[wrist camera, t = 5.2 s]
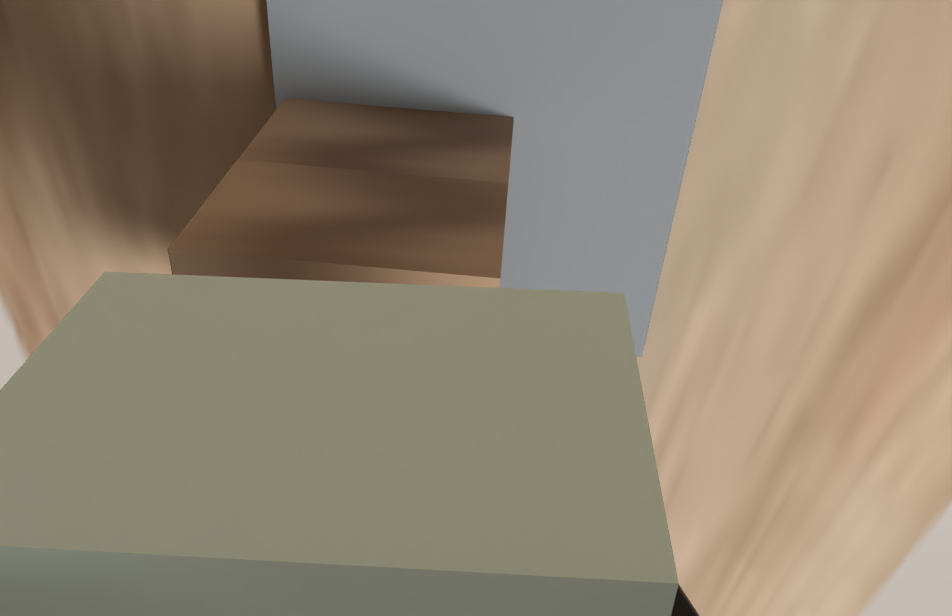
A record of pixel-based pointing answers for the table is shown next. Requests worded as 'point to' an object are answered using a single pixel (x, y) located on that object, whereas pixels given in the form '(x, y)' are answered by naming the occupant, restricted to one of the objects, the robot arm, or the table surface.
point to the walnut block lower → (385, 140)
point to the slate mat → (534, 113)
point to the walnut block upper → (345, 227)
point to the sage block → (331, 454)
